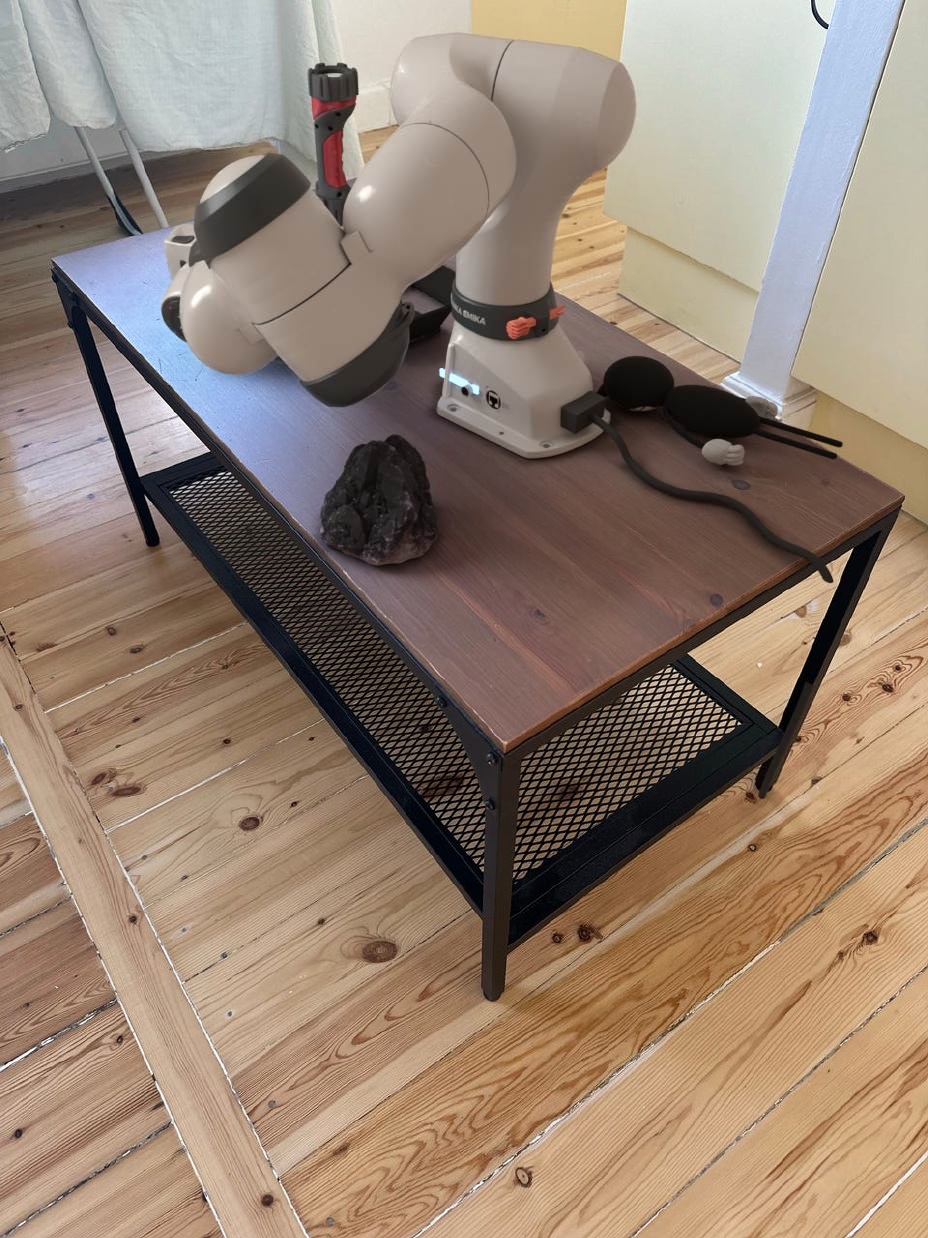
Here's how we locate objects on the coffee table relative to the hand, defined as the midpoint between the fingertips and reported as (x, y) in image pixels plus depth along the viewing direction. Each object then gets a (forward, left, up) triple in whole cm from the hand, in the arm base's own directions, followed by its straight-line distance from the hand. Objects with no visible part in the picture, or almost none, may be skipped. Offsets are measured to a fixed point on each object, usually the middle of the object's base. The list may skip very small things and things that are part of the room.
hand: (259, 226), depth 135 cm
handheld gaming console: (-28, -6, -8) cm, 30 cm away
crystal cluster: (-60, +20, -8) cm, 64 cm away
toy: (-84, -26, -5) cm, 88 cm away
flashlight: (+11, -21, -8) cm, 24 cm away
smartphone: (-18, -20, -8) cm, 28 cm away
